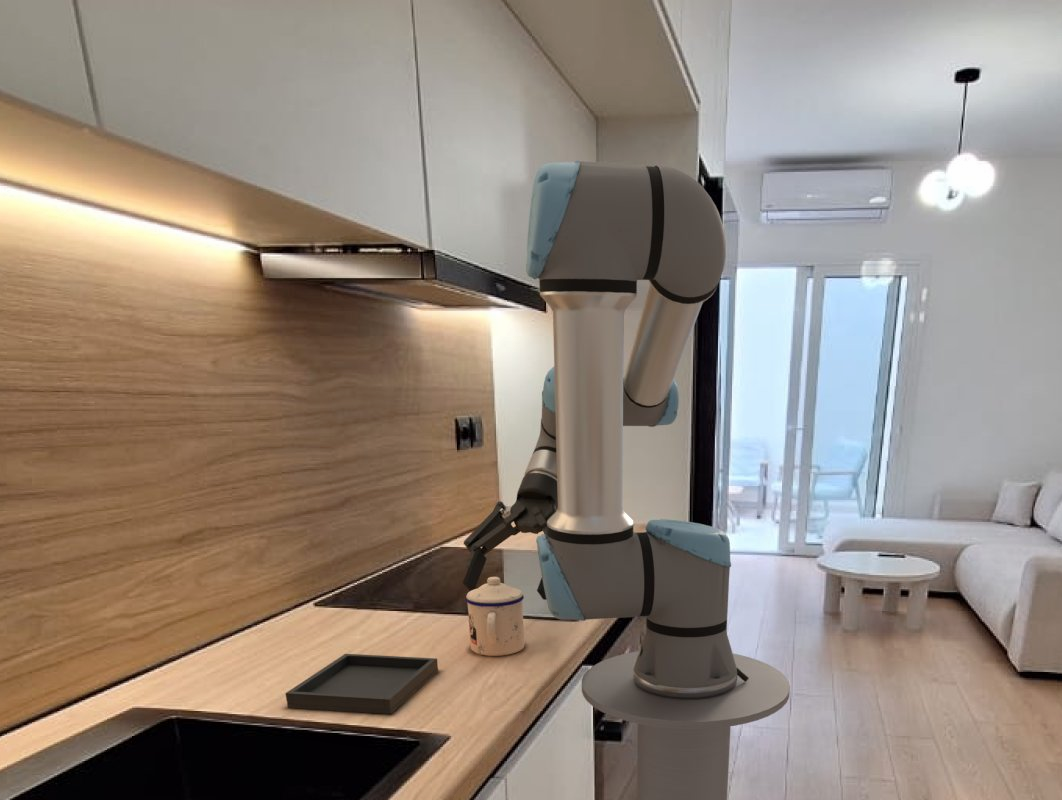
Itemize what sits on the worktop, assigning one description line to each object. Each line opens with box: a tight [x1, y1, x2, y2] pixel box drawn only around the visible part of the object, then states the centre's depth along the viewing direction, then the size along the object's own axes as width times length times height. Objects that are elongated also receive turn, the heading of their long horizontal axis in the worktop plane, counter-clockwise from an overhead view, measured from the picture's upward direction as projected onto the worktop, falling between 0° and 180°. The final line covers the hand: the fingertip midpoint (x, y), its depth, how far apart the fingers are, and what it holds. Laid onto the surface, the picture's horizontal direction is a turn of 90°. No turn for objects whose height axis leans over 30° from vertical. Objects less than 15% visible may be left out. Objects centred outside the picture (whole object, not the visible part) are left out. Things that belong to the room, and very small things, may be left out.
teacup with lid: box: [465, 576, 525, 657], centre depth 128 cm, size 12×9×12 cm
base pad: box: [285, 653, 439, 715], centre depth 114 cm, size 15×17×2 cm
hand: (504, 591), depth 130 cm, fingers open, 13 cm apart
